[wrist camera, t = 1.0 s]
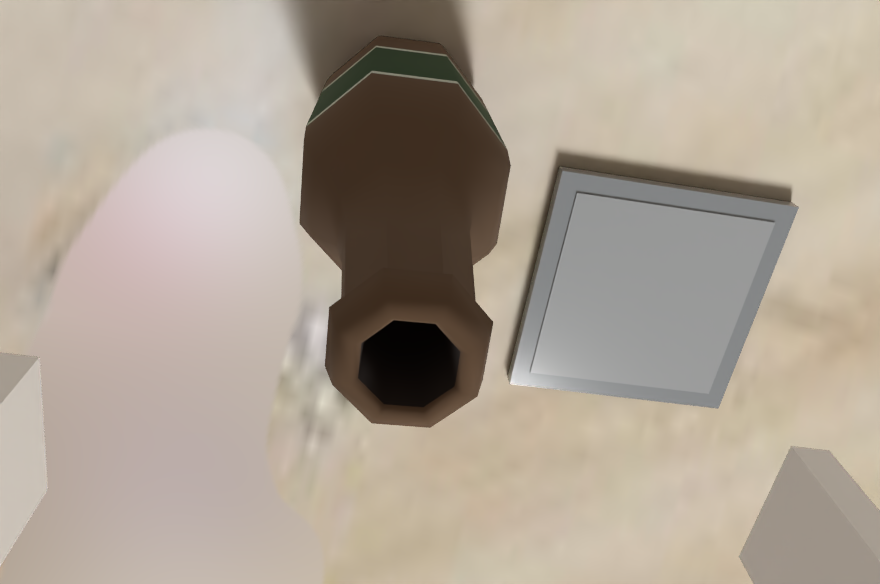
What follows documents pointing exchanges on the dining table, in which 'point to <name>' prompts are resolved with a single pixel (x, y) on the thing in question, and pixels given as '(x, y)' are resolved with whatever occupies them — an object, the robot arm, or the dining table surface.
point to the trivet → (646, 288)
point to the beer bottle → (404, 227)
